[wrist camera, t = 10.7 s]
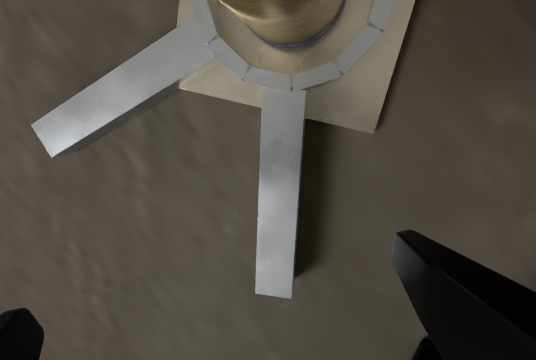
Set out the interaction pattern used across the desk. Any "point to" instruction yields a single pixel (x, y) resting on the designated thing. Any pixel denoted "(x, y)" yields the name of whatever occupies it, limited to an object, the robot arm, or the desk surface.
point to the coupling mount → (251, 100)
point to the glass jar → (288, 20)
